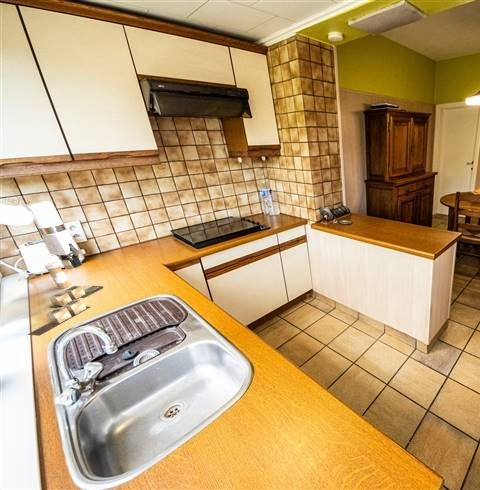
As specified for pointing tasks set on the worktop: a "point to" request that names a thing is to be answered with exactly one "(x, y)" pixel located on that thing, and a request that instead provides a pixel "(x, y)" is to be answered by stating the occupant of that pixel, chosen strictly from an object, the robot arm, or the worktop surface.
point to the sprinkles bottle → (58, 275)
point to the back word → (72, 295)
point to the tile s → (68, 264)
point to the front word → (61, 315)
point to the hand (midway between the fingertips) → (73, 266)
